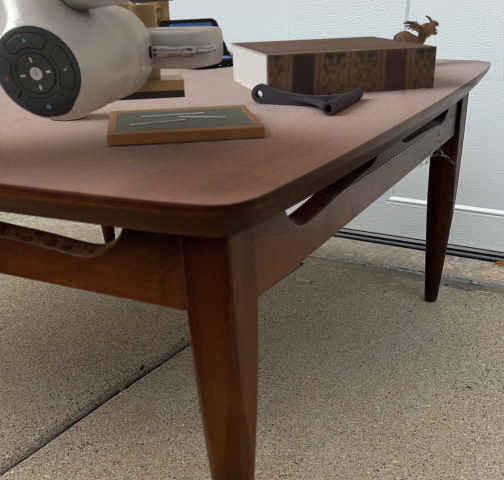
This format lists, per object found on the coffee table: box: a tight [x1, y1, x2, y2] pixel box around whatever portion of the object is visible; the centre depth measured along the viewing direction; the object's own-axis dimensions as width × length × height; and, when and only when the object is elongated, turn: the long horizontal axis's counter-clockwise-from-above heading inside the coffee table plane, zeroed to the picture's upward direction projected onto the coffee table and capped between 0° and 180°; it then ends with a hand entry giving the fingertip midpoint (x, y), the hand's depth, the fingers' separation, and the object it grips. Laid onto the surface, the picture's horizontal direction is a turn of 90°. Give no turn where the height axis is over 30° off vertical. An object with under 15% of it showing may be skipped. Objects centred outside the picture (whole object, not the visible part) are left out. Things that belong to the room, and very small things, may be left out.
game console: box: [159, 17, 233, 68], centre depth 148 cm, size 16×14×9 cm
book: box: [229, 35, 438, 96], centre depth 118 cm, size 24×28×6 cm
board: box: [106, 104, 266, 147], centre depth 86 cm, size 18×16×1 cm
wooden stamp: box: [116, 3, 186, 102], centre depth 80 cm, size 8×5×10 cm, turn 99°
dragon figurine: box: [392, 15, 440, 45], centre depth 138 cm, size 14×6×9 cm, turn 136°
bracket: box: [250, 83, 364, 116], centre depth 99 cm, size 14×15×3 cm
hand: (147, 41), depth 80 cm, fingers closed on wooden stamp, 3 cm apart
